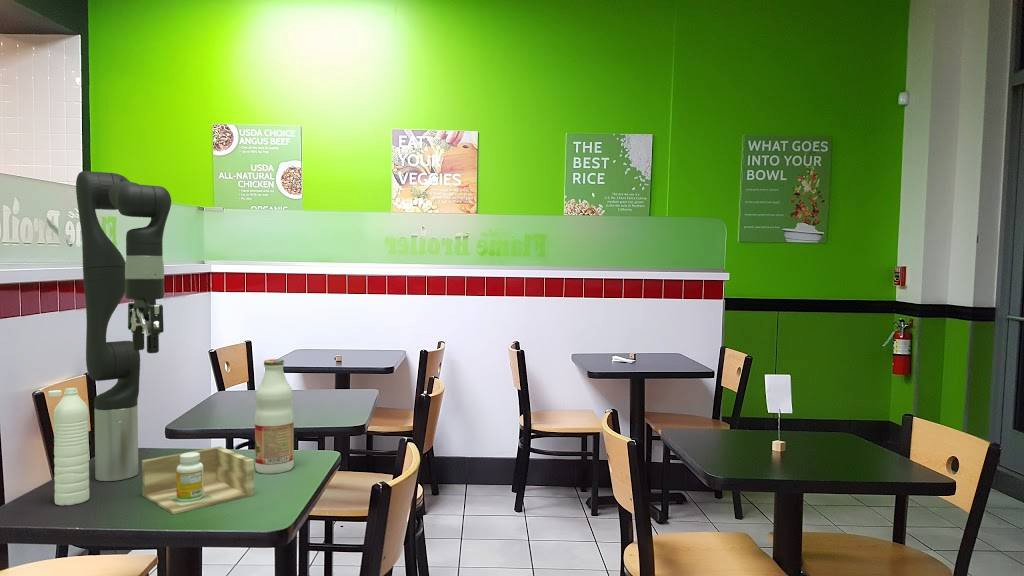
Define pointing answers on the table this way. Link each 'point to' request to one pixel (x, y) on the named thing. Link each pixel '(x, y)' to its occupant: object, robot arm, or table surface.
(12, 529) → the table surface
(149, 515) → the table surface
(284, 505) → the table surface
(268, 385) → the fruit juice
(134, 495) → the table surface
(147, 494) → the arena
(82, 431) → the water bottle
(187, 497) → the supplement bottle
